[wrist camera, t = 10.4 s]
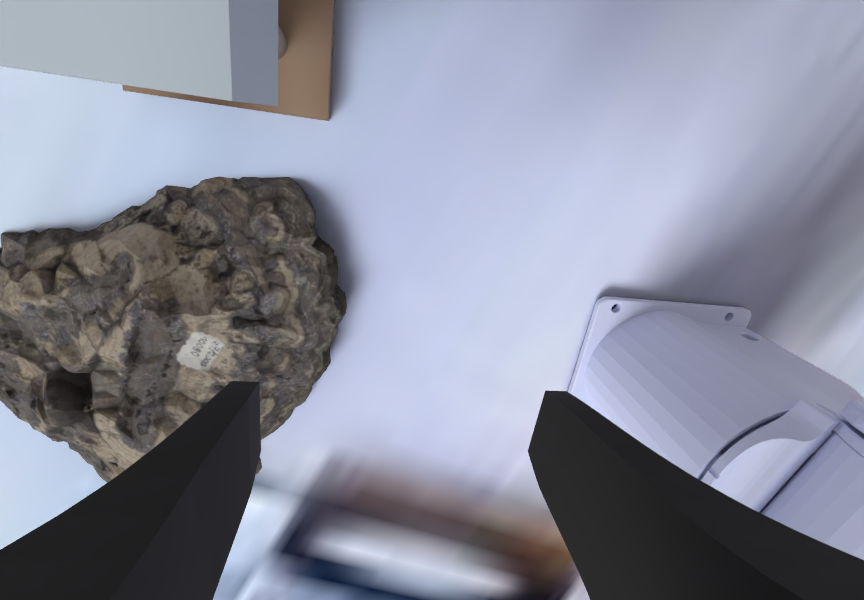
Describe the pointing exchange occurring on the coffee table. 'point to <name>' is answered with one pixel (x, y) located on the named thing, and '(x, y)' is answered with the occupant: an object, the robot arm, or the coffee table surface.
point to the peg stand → (292, 62)
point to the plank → (149, 44)
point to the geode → (166, 315)
